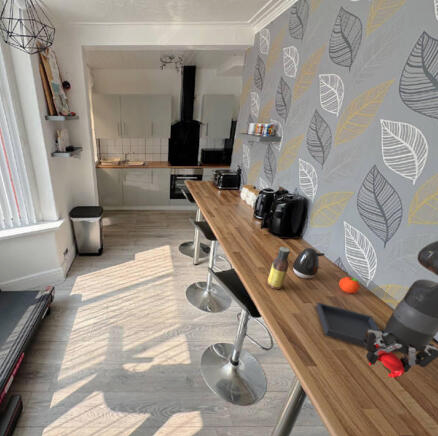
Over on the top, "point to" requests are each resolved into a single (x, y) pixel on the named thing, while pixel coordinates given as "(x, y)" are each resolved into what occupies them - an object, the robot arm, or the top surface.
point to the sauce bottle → (279, 269)
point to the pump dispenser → (307, 263)
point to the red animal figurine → (391, 364)
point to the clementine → (349, 285)
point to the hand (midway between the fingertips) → (384, 365)
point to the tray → (345, 324)
